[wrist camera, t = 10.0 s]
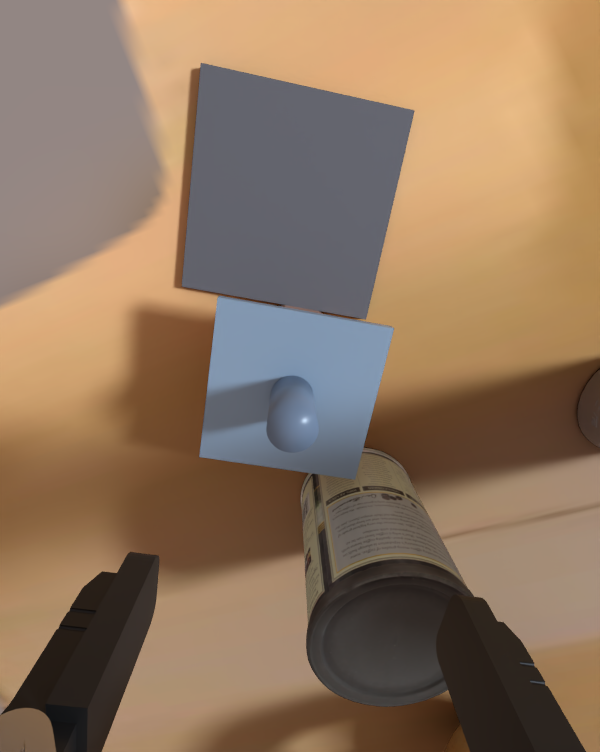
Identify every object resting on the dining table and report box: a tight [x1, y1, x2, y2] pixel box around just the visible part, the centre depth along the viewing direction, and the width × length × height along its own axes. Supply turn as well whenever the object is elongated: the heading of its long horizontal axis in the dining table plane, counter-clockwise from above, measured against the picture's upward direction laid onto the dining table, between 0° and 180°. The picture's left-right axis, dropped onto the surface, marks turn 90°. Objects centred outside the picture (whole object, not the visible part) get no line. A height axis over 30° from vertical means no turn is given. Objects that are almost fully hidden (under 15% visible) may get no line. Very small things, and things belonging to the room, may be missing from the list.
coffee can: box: [300, 448, 474, 707], centre depth 29 cm, size 10×10×14 cm
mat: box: [182, 63, 414, 319], centre depth 27 cm, size 14×14×1 cm
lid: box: [199, 296, 394, 480], centre depth 24 cm, size 11×11×6 cm
